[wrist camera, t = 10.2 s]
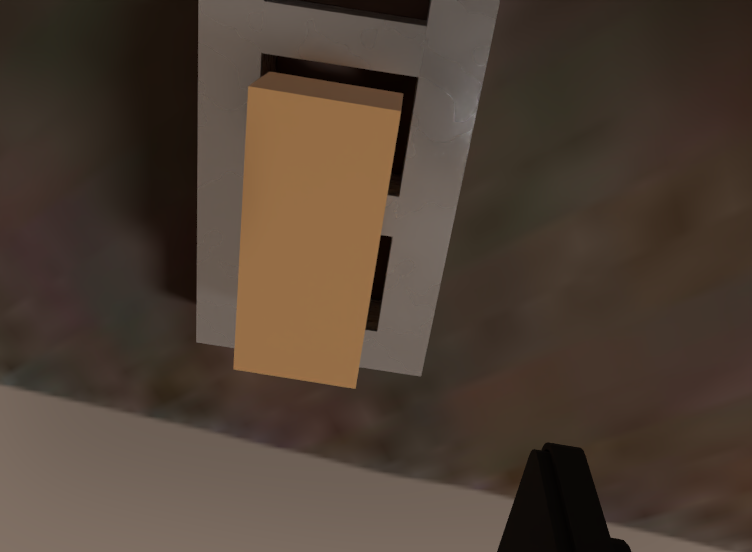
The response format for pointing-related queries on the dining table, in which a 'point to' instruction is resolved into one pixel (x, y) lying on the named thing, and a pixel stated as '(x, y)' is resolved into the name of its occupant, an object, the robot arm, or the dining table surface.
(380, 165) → the tan rectangular block
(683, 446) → the dining table surface
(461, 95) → the grey slotted tray
